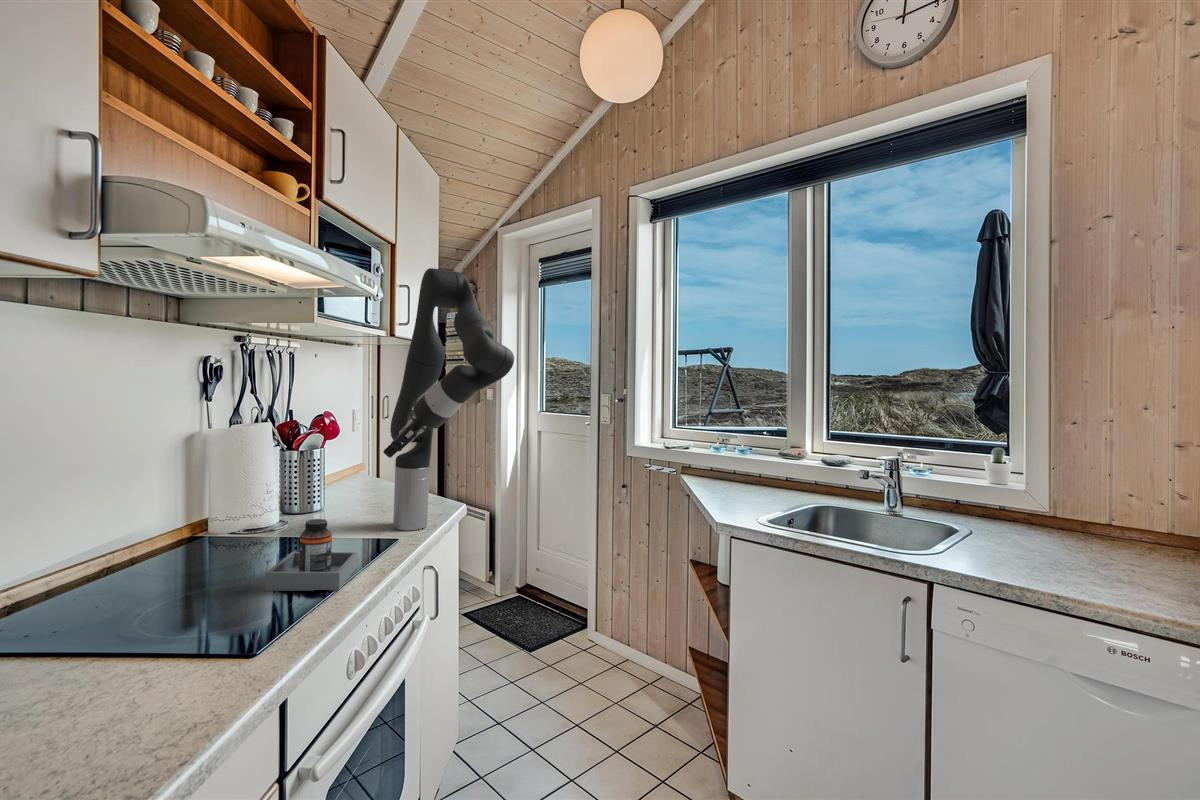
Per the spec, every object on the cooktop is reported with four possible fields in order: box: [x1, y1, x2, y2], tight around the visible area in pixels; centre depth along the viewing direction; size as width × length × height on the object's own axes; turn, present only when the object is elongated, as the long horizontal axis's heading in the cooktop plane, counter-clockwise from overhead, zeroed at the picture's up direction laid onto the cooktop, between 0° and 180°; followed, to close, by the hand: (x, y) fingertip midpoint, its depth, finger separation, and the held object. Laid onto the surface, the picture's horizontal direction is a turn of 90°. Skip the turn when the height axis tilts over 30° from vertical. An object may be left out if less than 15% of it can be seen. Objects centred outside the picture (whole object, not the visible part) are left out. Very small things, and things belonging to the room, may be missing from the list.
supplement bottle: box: [299, 518, 333, 572], centre depth 119 cm, size 6×6×11 cm
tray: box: [264, 551, 359, 592], centre depth 119 cm, size 14×14×4 cm
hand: (394, 445), depth 132 cm, fingers open, 8 cm apart
